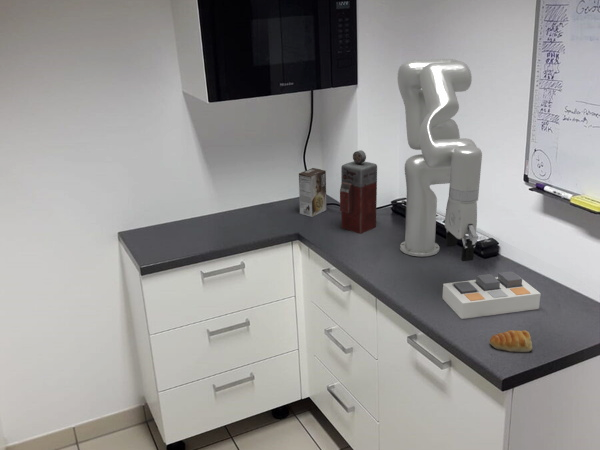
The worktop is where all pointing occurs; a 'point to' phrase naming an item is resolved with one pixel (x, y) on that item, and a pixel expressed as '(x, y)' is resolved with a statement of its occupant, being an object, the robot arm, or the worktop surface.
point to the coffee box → (312, 192)
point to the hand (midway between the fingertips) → (459, 253)
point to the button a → (465, 287)
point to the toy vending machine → (358, 194)
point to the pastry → (512, 341)
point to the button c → (509, 279)
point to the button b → (487, 282)
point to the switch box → (491, 300)
